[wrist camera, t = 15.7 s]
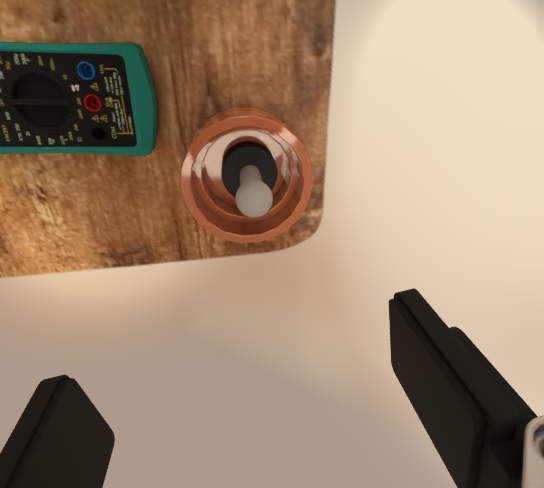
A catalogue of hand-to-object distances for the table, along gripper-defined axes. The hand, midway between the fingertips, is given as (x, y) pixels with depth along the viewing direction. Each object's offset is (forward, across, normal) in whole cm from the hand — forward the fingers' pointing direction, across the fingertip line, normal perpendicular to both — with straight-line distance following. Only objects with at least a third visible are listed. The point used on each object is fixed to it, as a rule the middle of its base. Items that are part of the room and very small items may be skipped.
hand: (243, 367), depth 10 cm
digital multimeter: (+22, +11, -8) cm, 26 cm away
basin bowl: (+22, -1, 0) cm, 22 cm away
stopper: (+21, -2, 0) cm, 21 cm away
